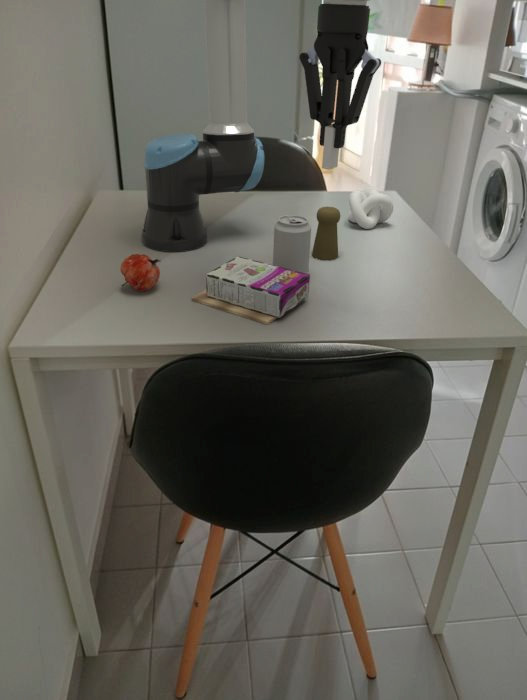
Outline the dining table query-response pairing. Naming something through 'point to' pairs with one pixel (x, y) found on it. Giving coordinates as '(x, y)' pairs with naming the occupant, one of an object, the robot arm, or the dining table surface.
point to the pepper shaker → (326, 234)
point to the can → (292, 243)
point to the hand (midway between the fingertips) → (329, 167)
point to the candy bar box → (258, 286)
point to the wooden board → (233, 308)
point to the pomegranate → (140, 271)
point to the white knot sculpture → (369, 207)
